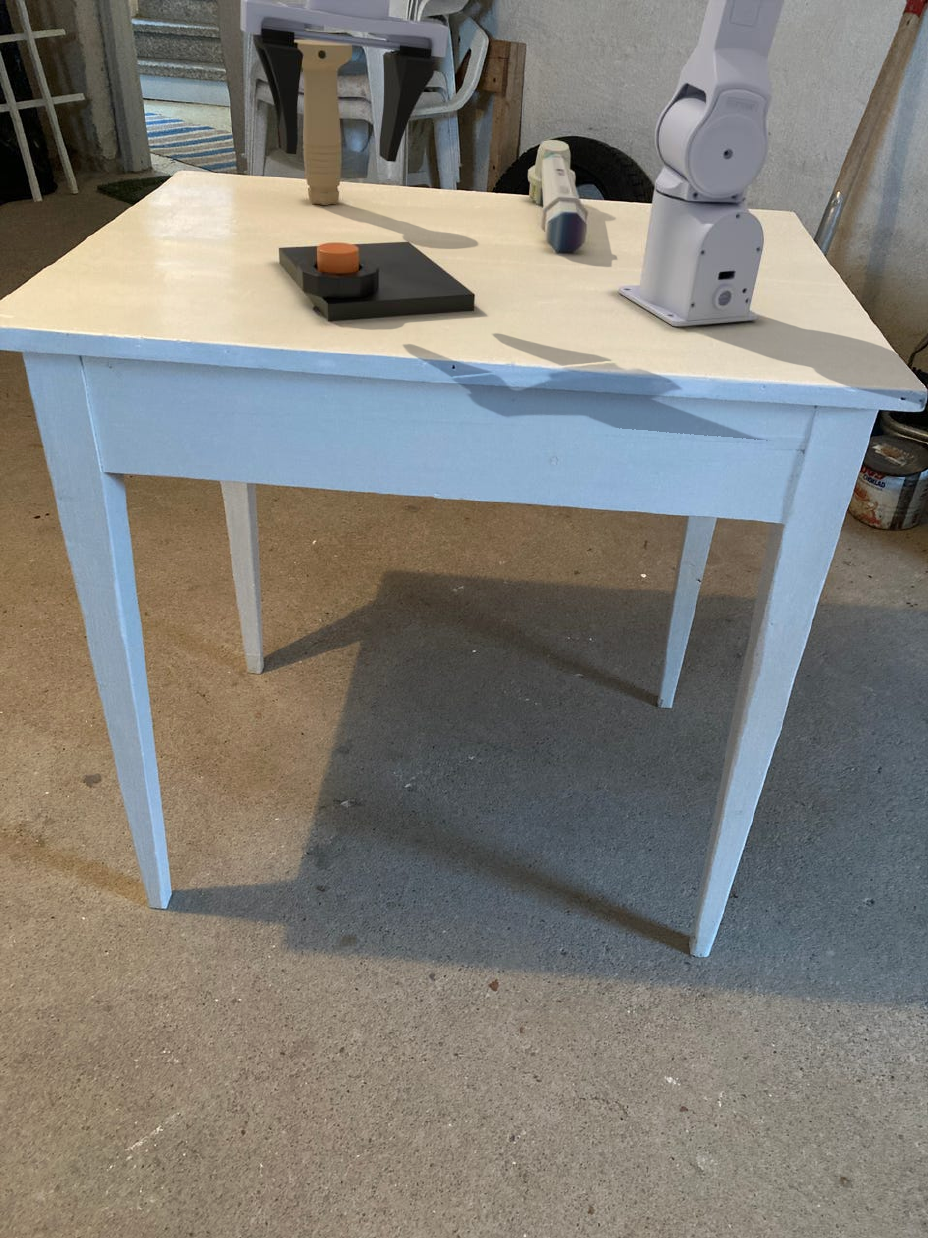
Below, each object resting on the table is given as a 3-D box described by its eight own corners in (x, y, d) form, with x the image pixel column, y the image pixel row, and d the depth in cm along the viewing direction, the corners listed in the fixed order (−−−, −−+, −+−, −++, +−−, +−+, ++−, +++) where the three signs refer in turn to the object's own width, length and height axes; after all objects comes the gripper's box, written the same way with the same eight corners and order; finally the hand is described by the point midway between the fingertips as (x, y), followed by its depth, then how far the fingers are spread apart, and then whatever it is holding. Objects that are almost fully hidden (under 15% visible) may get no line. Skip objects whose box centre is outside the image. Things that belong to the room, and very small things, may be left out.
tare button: (364, 275, 76) (364, 252, 75) (323, 277, 75) (323, 254, 74) (352, 263, 79) (352, 241, 78) (313, 265, 78) (312, 242, 77)
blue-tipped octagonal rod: (541, 208, 92) (531, 124, 110) (534, 277, 97) (525, 186, 115) (597, 211, 92) (577, 127, 111) (587, 280, 97) (570, 188, 115)
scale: (474, 311, 79) (476, 273, 77) (314, 323, 74) (313, 283, 73) (408, 257, 91) (408, 222, 89) (267, 264, 86) (265, 228, 85)
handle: (292, 196, 108) (285, 38, 99) (351, 197, 109) (349, 40, 100) (295, 207, 104) (288, 43, 95) (356, 207, 105) (354, 46, 97)
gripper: (432, -51, 72) (412, 150, 80) (232, -84, 67) (231, 135, 74) (468, -44, 67) (442, 170, 74) (253, -79, 61) (250, 156, 69)
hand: (338, 154), depth 74 cm, fingers open, 7 cm apart
